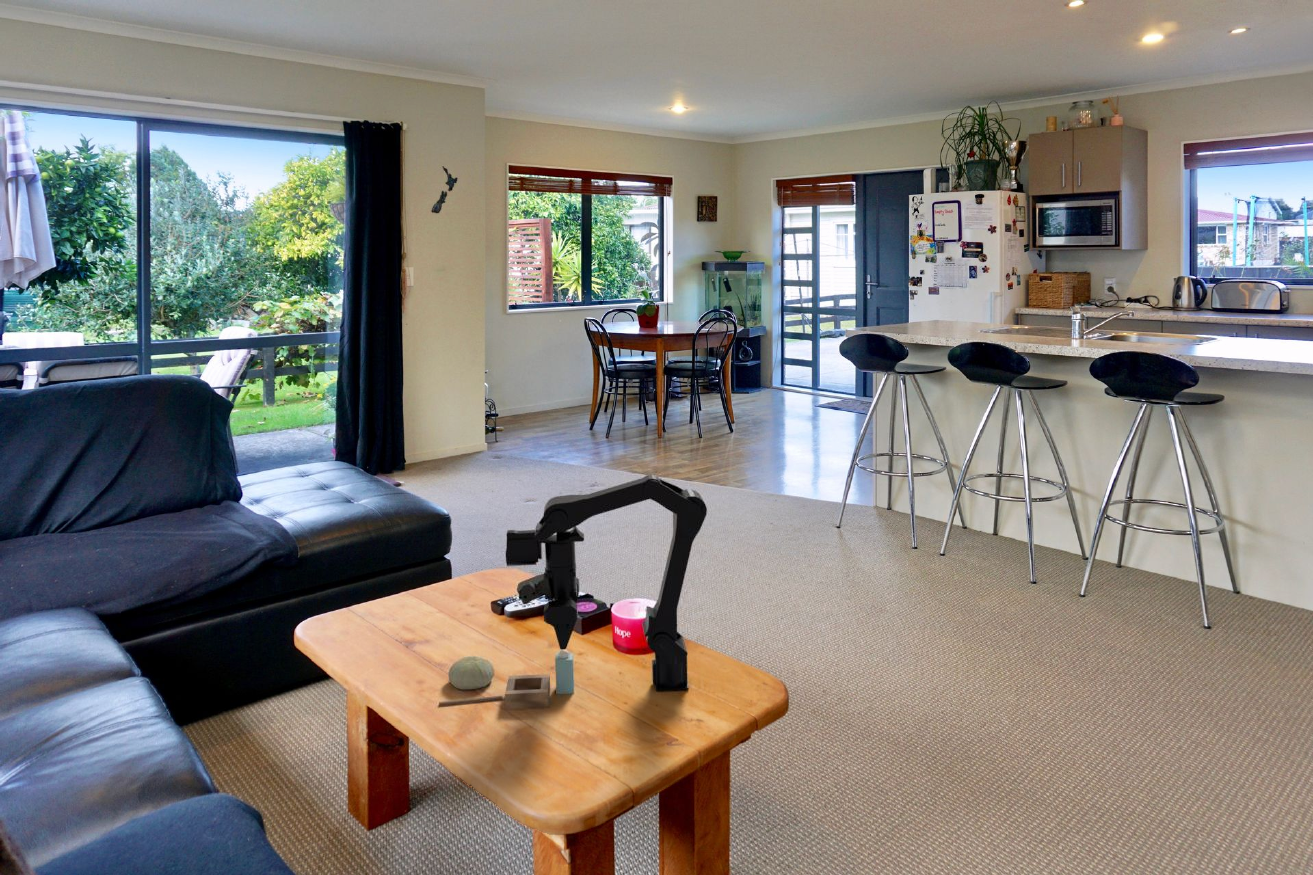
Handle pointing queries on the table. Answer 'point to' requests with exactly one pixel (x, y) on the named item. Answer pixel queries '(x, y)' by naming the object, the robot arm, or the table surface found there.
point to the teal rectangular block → (564, 672)
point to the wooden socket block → (527, 692)
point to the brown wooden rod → (470, 700)
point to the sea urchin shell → (471, 673)
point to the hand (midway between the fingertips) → (564, 639)
